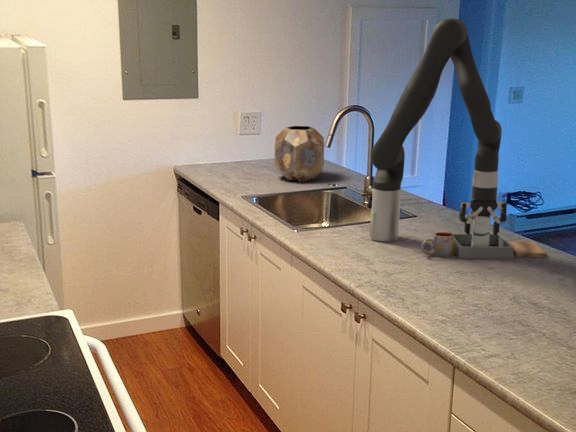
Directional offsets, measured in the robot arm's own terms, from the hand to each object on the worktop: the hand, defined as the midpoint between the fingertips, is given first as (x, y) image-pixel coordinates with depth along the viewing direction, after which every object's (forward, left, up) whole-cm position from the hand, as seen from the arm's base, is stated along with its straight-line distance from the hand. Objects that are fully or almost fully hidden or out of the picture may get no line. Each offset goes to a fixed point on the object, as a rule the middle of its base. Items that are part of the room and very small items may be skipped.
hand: (481, 234), depth 220 cm
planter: (-56, +107, -6) cm, 121 cm away
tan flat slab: (+14, 0, -6) cm, 15 cm away
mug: (-15, -4, -6) cm, 16 cm away
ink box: (0, 0, -6) cm, 6 cm away
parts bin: (0, 0, -6) cm, 6 cm away
